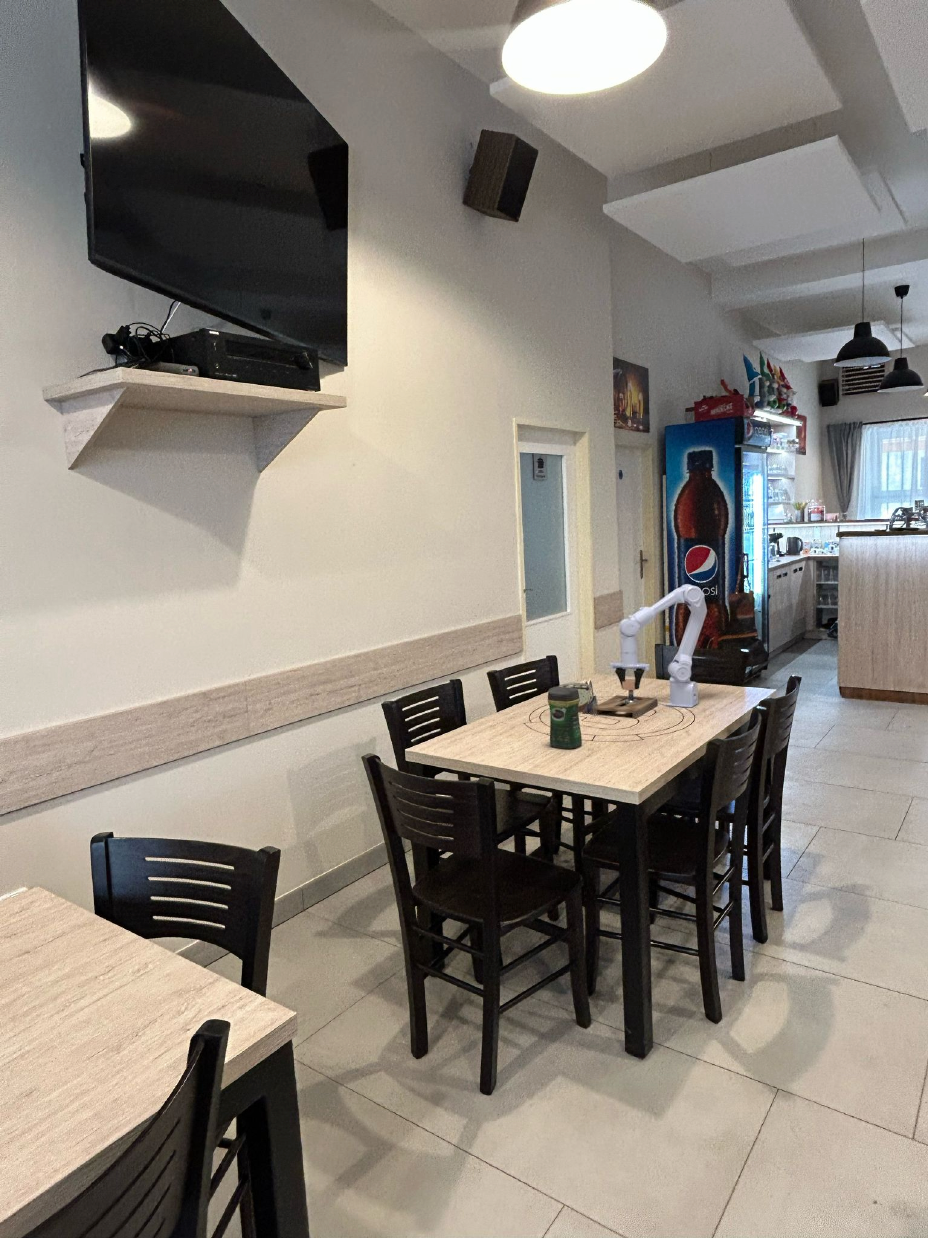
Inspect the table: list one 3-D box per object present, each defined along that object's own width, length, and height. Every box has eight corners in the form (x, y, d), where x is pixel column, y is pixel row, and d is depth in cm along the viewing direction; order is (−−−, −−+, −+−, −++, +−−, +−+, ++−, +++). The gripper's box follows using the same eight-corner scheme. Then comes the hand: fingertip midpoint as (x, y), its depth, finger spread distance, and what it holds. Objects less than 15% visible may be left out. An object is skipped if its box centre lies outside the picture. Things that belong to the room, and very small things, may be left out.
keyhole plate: (657, 705, 291) (657, 698, 291) (636, 718, 275) (635, 710, 274) (617, 702, 301) (616, 695, 300) (593, 714, 284) (593, 707, 284)
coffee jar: (586, 744, 247) (583, 685, 245) (572, 751, 241) (570, 691, 239) (559, 740, 253) (556, 683, 251) (546, 747, 247) (543, 688, 245)
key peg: (639, 702, 292) (638, 679, 291) (635, 705, 288) (634, 682, 287) (627, 701, 295) (626, 679, 294) (622, 704, 291) (621, 681, 290)
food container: (591, 708, 294) (590, 681, 293) (592, 712, 288) (591, 685, 287) (557, 709, 295) (556, 683, 294) (558, 713, 289) (556, 686, 288)
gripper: (652, 650, 289) (653, 687, 290) (614, 649, 296) (615, 685, 298) (645, 654, 283) (647, 691, 284) (607, 652, 290) (608, 689, 292)
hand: (630, 688), depth 291 cm, fingers closed on key peg, 5 cm apart
